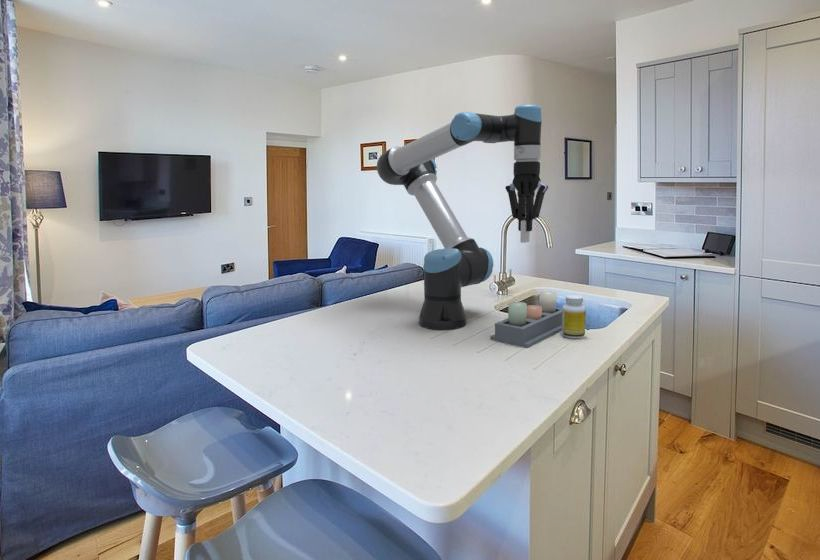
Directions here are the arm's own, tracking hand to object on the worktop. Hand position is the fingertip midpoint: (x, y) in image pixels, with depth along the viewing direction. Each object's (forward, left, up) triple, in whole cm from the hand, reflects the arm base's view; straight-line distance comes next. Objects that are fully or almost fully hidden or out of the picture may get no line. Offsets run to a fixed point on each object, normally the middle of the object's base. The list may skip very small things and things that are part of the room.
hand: (524, 242), depth 150 cm
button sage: (+5, -12, -22) cm, 25 cm away
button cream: (+5, +6, -22) cm, 23 cm away
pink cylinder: (+5, -3, -25) cm, 25 cm away
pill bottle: (+16, +1, -27) cm, 31 cm away
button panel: (+5, -3, -26) cm, 27 cm away
